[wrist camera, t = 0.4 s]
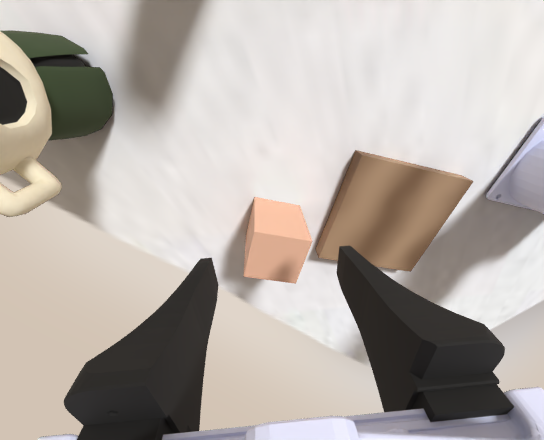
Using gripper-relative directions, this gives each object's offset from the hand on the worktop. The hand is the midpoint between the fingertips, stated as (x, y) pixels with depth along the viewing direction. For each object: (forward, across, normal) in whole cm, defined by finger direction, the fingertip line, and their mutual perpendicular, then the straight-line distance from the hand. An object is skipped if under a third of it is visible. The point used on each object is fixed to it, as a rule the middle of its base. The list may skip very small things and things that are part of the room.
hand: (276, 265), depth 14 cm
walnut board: (+11, -12, +4) cm, 16 cm away
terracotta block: (+10, 0, +3) cm, 11 cm away
